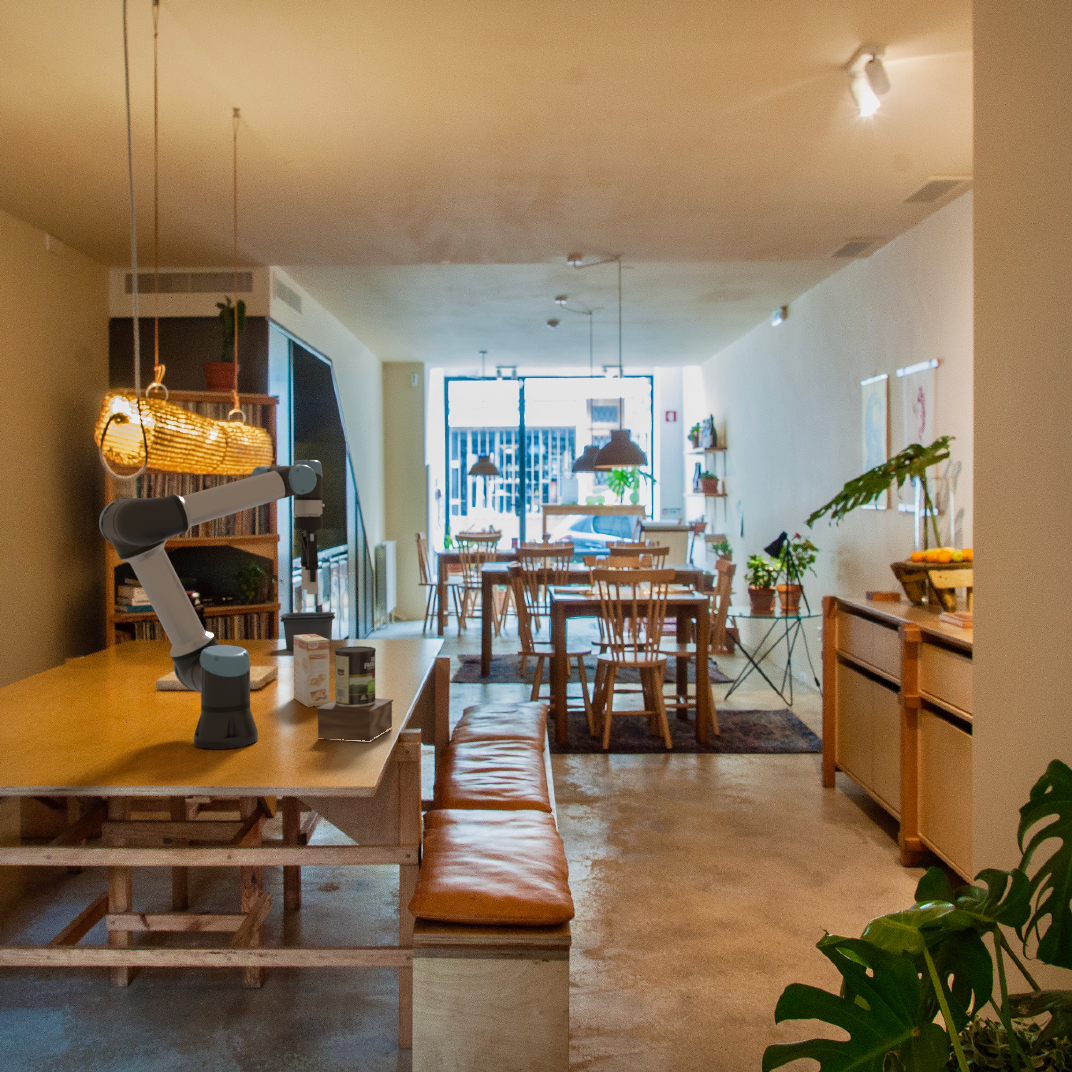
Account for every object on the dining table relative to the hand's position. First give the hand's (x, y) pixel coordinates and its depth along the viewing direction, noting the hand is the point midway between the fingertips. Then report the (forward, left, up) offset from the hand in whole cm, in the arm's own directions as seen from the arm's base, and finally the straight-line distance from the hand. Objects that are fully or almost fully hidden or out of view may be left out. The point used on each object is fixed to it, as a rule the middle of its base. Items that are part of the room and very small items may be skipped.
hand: (309, 591), depth 259 cm
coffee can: (-17, -22, -27) cm, 38 cm away
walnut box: (-17, -22, -35) cm, 44 cm away
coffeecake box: (+16, +8, -35) cm, 39 cm away
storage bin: (+108, +58, -35) cm, 128 cm away
